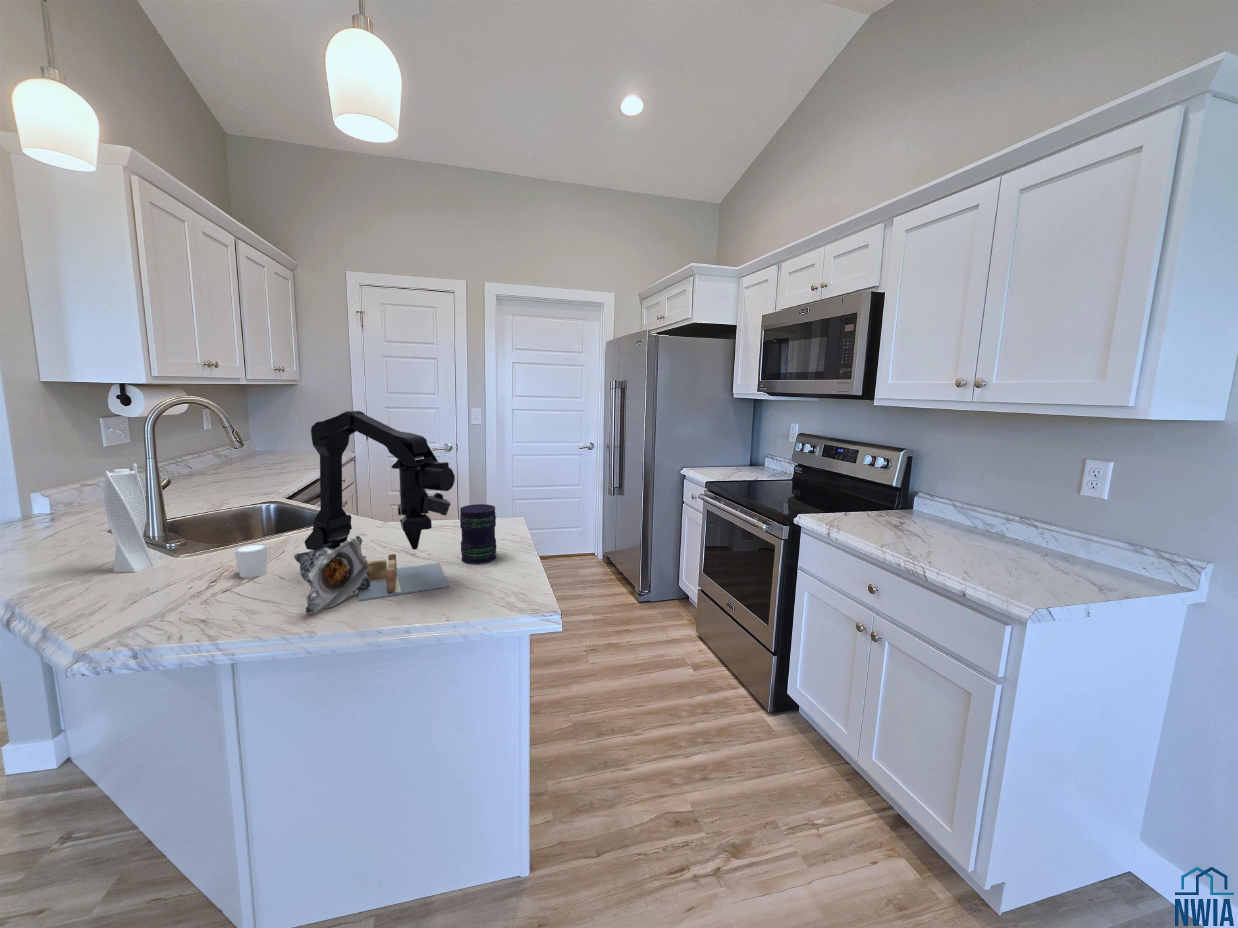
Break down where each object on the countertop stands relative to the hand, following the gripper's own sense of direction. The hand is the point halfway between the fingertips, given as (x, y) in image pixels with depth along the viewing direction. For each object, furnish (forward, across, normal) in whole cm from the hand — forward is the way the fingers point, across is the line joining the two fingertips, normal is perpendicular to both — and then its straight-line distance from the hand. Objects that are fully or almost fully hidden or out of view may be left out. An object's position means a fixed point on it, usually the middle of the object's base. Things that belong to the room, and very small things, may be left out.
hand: (414, 548), depth 125 cm
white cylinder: (+9, +23, +37) cm, 45 cm away
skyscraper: (+10, +40, +65) cm, 77 cm away
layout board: (+9, +3, +3) cm, 10 cm away
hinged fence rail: (+8, 0, +5) cm, 10 cm away
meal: (+9, -4, +17) cm, 20 cm away
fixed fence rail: (+8, +6, +9) cm, 14 cm away
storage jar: (+9, +12, -18) cm, 23 cm away
